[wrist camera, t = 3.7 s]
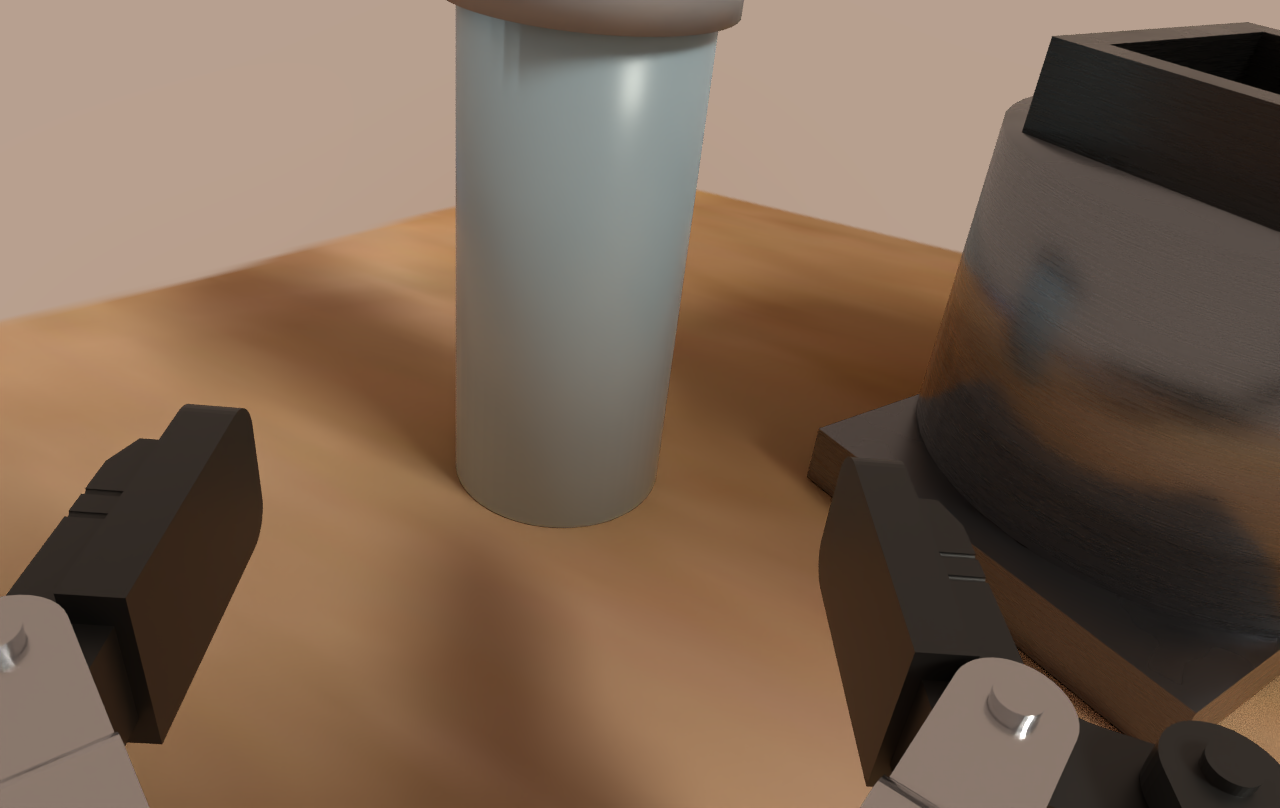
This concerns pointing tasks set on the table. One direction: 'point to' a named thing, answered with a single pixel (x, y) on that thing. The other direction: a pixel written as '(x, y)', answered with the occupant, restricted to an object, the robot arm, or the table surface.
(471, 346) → the grey lidded canister
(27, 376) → the table surface
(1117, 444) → the dark grey holder
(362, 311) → the table surface
